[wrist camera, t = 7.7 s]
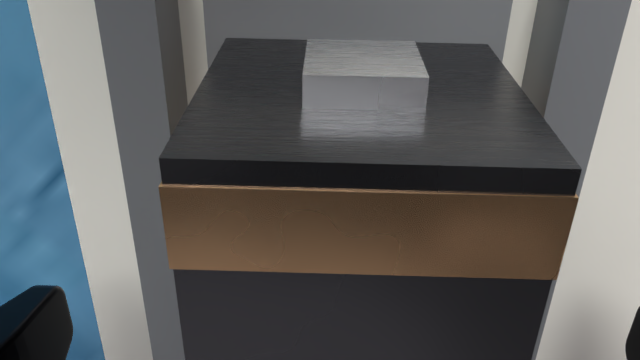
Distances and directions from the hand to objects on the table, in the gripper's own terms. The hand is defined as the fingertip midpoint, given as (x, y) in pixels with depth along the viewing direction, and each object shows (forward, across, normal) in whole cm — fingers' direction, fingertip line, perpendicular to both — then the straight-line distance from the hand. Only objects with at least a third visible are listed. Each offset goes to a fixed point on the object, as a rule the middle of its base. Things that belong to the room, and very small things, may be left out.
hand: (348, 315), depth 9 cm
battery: (+2, 0, 0) cm, 2 cm away
